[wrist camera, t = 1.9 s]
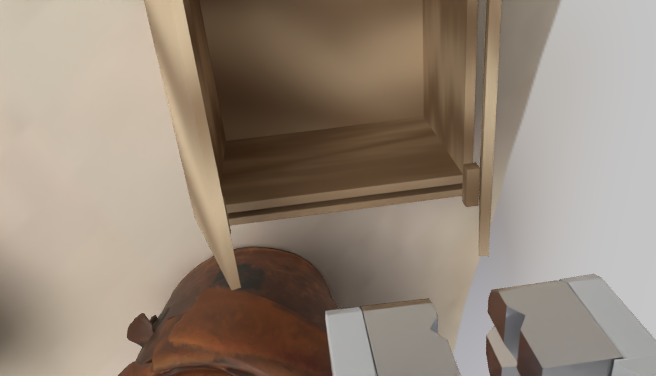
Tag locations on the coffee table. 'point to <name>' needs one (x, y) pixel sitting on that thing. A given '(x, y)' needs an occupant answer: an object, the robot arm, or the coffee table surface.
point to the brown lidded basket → (239, 322)
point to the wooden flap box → (337, 102)
